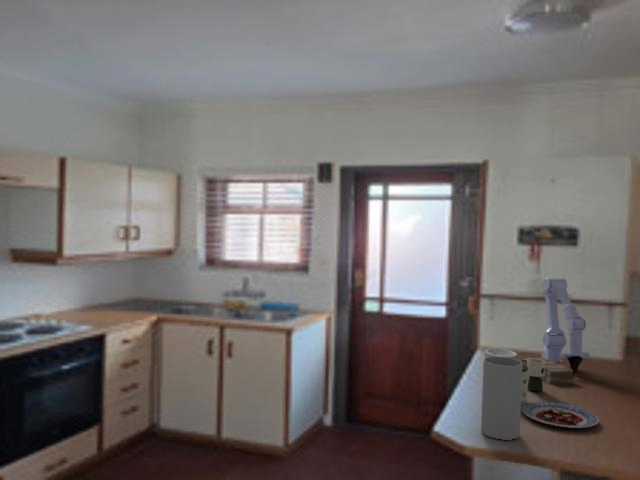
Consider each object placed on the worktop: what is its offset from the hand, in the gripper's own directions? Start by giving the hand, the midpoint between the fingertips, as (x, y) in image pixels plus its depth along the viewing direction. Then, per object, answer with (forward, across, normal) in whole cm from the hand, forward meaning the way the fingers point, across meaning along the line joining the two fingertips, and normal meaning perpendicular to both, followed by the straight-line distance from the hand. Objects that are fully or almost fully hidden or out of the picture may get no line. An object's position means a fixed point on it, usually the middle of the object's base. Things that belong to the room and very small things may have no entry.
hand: (574, 372), depth 266 cm
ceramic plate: (+2, -46, -50) cm, 68 cm away
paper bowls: (+2, -28, +17) cm, 33 cm away
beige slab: (+1, -15, 0) cm, 15 cm away
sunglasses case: (+2, -3, +4) cm, 5 cm away
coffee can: (+2, -51, -28) cm, 58 cm away
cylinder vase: (+2, -76, -59) cm, 96 cm away
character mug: (+2, -34, -18) cm, 38 cm away
